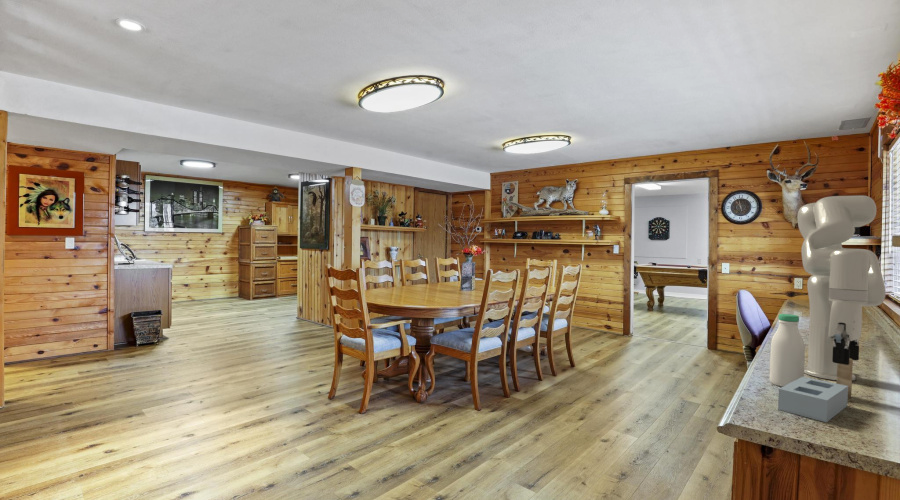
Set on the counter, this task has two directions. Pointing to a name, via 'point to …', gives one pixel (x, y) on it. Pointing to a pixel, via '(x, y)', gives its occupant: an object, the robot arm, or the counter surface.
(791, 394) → the hole block
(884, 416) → the counter surface
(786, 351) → the milk bottle
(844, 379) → the peg
